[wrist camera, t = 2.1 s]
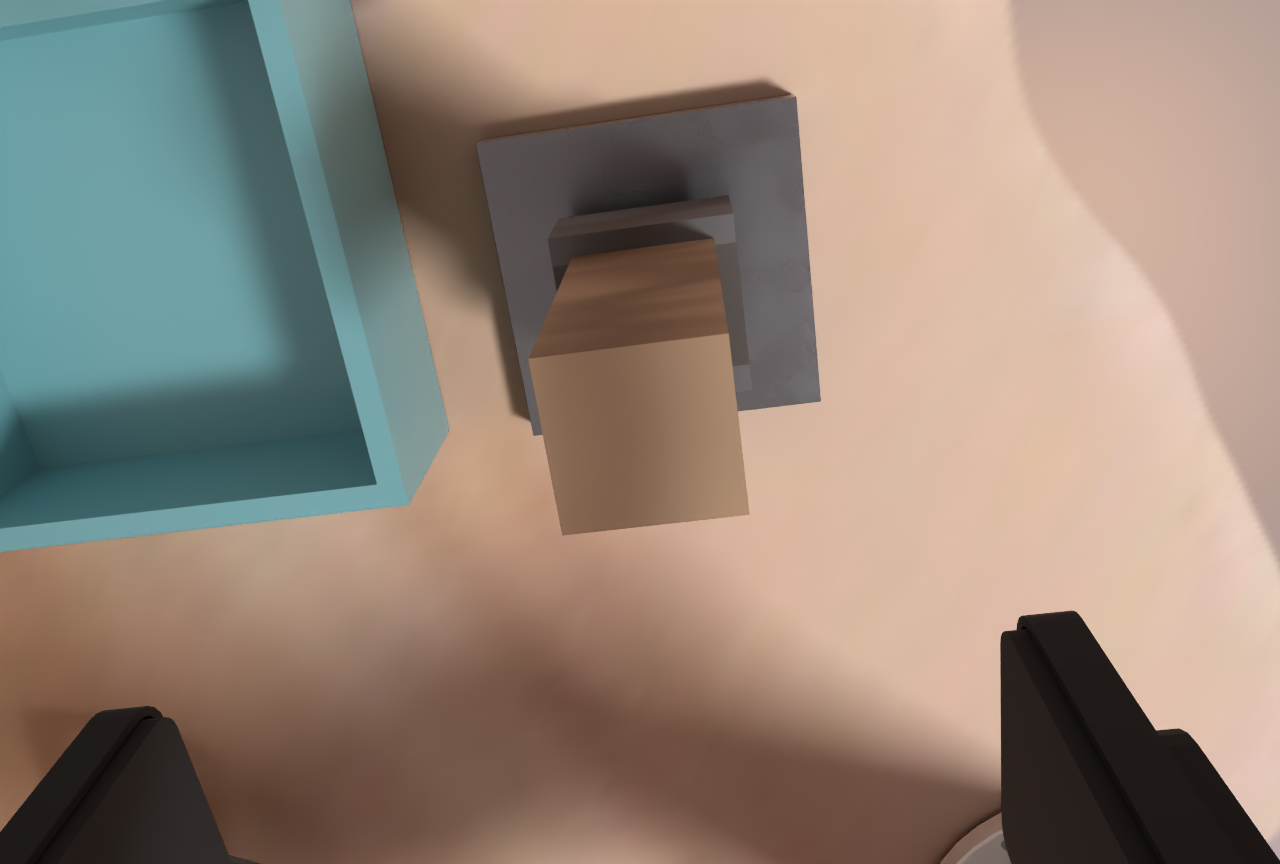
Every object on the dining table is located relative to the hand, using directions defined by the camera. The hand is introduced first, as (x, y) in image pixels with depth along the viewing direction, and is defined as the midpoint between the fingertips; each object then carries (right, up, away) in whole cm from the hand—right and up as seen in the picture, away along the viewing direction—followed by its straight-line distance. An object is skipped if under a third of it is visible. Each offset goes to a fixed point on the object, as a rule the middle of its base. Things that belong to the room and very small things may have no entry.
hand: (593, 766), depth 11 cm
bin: (-15, +10, +23) cm, 29 cm away
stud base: (+1, +9, +23) cm, 25 cm away
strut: (+1, +8, +20) cm, 22 cm away
